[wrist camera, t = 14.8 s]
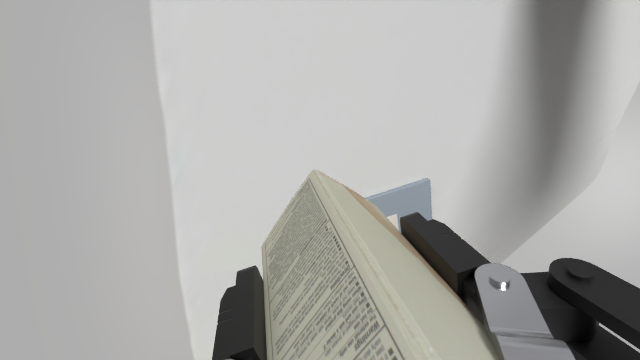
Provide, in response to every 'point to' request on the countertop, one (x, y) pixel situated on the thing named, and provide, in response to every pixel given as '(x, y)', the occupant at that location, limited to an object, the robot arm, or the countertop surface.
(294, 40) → the countertop surface
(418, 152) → the countertop surface
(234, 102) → the countertop surface
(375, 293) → the box
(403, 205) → the plate
